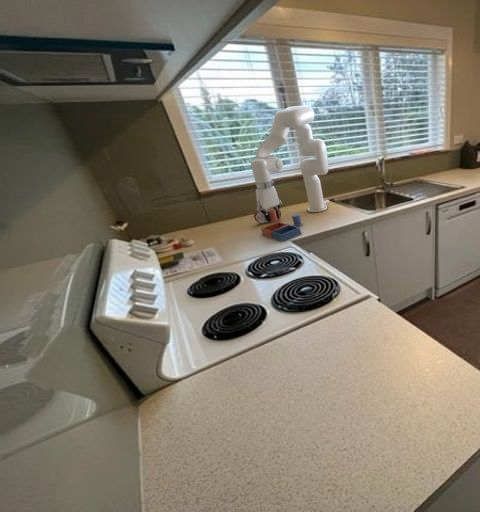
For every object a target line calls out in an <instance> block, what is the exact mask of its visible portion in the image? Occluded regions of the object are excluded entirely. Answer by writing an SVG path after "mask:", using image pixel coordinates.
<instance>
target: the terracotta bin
mask: <svg viewBox="0 0 480 512" xmlns="http://www.w3.org/2000/svg"><path fill="white" fill-rule="evenodd" d="M287 225H290V224H288V223H285V222H282V221H276V222H273V223H272V224H270V225H267V226H264V227H261V228H260V230H261V233H262V235H263V236H266V237H268V238H271V239H274V238H273V237H272V234H271V232H272V231H274V230H277V229H279V228H282V227H285V226H287Z"/></svg>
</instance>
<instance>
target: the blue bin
mask: <svg viewBox="0 0 480 512" xmlns="http://www.w3.org/2000/svg"><path fill="white" fill-rule="evenodd" d="M271 234H272V237H273V238H272V239H275V240H278V241H280V242H286V241H287V240H291V239H293V238H294V237H298V236H300V235H301V234H302V230H301V227H300V226H298V227H296V226H294V225H292V224H289V225H287V226H285V227H282V228H279V229H277V230H274V231H272V232H271Z"/></svg>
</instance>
